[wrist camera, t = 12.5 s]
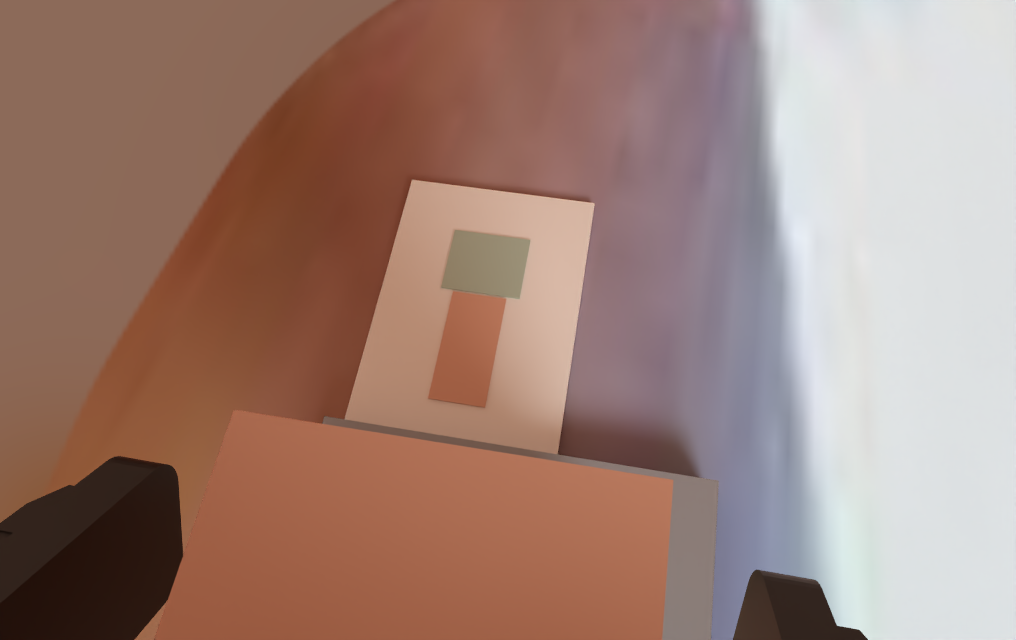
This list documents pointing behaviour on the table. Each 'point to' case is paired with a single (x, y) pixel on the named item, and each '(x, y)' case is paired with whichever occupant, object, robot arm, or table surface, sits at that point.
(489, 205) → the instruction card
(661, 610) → the terracotta brick
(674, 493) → the base plate
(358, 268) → the table surface
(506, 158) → the table surface
